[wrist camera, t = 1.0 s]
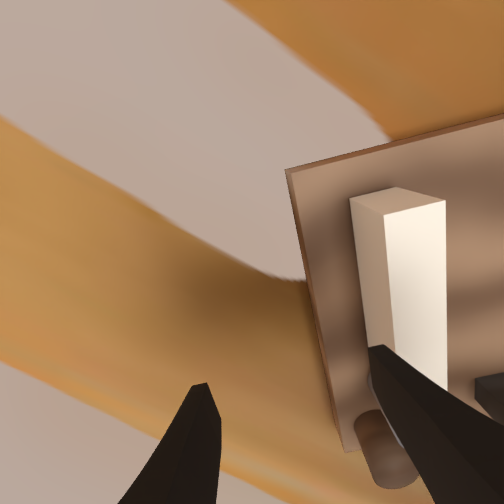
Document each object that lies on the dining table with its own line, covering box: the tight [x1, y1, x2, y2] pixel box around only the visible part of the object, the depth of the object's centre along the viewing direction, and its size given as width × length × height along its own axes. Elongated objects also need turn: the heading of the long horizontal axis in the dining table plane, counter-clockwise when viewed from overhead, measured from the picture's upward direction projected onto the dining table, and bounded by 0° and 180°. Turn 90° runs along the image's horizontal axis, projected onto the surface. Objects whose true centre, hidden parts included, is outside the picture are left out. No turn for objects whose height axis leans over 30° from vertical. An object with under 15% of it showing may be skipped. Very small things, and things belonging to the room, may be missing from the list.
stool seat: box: [285, 113, 504, 489], centre depth 18 cm, size 22×22×6 cm
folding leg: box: [349, 187, 447, 448], centre depth 16 cm, size 15×3×4 cm, turn 14°
